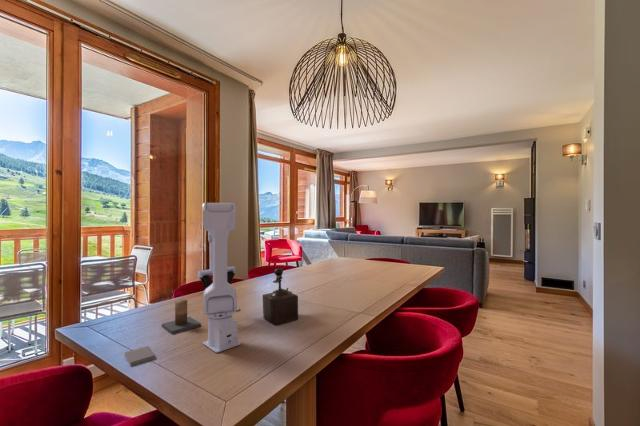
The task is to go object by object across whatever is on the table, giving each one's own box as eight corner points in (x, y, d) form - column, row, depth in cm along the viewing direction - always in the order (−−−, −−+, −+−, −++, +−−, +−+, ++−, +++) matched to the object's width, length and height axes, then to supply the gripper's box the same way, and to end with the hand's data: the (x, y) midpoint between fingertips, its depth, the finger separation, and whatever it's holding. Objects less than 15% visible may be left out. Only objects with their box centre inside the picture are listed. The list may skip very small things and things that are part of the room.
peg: (189, 323, 107) (189, 301, 107) (177, 326, 104) (177, 303, 104) (184, 320, 110) (184, 299, 110) (173, 323, 107) (173, 301, 107)
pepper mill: (300, 319, 112) (300, 272, 112) (274, 326, 106) (273, 276, 106) (281, 309, 125) (280, 266, 125) (256, 314, 118) (256, 269, 119)
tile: (148, 350, 89) (155, 360, 83) (124, 357, 85) (130, 367, 79) (148, 345, 89) (155, 354, 83) (124, 352, 85) (130, 362, 79)
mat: (200, 326, 107) (200, 323, 107) (171, 334, 100) (171, 331, 100) (189, 319, 114) (189, 316, 114) (161, 326, 107) (161, 323, 107)
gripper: (229, 255, 123) (229, 287, 123) (194, 259, 112) (194, 294, 112) (238, 256, 118) (238, 290, 118) (202, 260, 107) (202, 298, 107)
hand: (217, 292), depth 115 cm, fingers open, 7 cm apart
